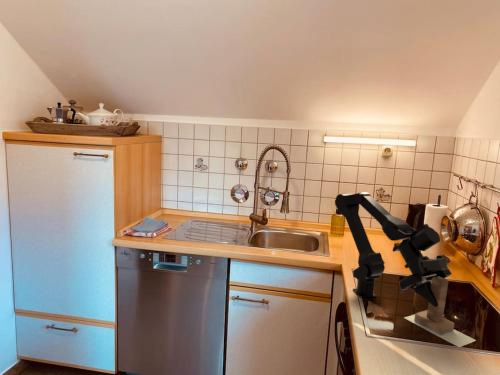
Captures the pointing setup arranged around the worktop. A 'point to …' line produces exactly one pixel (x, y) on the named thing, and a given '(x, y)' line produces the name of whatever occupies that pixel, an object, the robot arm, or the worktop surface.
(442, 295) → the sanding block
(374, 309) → the shard
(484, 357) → the worktop surface
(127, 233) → the worktop surface
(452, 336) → the board
